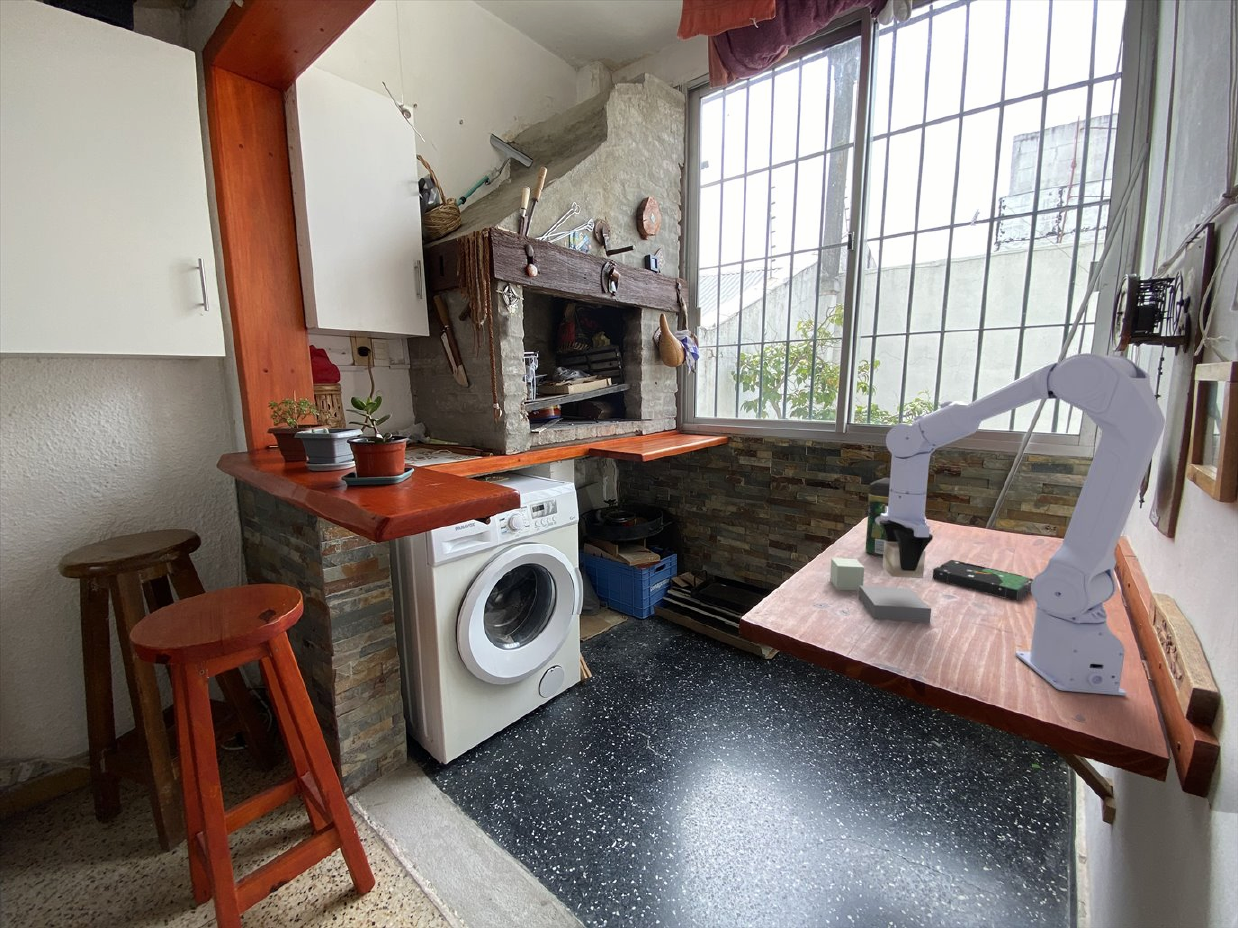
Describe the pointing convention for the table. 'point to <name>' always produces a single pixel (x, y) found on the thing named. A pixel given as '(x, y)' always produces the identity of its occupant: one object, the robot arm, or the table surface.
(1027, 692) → the table surface
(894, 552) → the birch cube
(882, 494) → the coffee jar
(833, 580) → the sage cube
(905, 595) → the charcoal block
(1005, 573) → the disk drive
